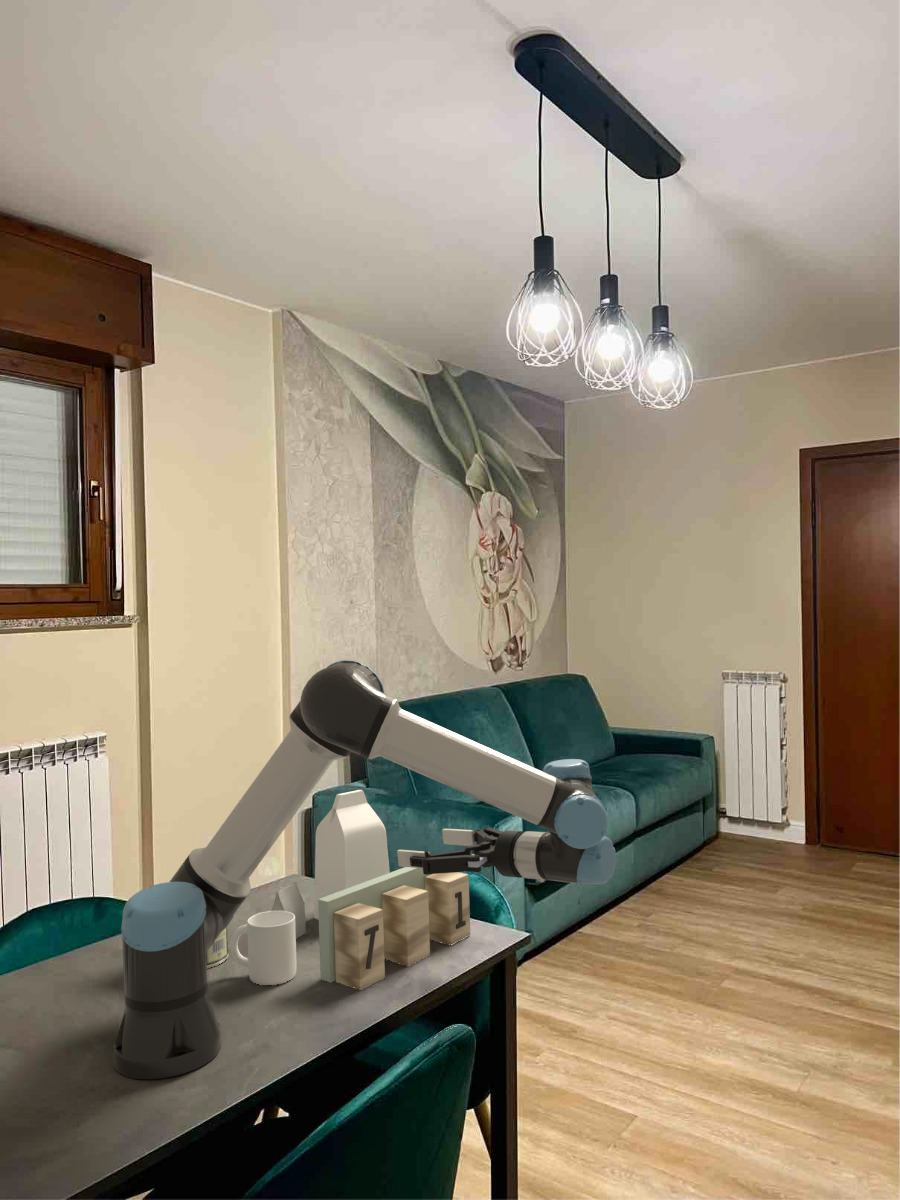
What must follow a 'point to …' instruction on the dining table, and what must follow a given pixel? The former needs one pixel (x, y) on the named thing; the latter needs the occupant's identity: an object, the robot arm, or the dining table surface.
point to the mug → (268, 947)
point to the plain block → (406, 925)
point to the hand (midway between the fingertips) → (422, 846)
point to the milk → (349, 846)
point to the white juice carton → (292, 906)
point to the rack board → (361, 894)
